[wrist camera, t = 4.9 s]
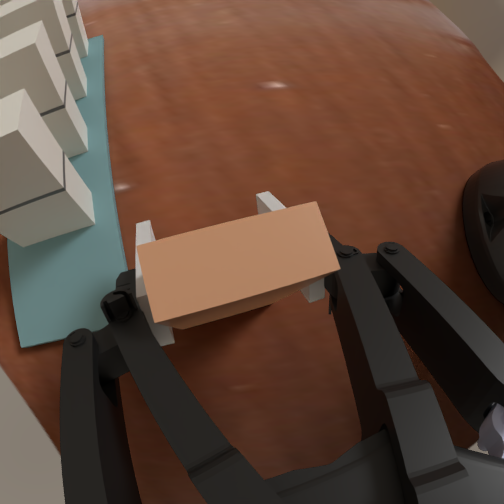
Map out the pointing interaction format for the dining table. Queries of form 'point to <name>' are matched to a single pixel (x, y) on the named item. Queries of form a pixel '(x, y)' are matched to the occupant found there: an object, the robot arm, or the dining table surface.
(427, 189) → the dining table surface
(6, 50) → the domino
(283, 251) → the terracotta domino
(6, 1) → the domino
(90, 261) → the domino board
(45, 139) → the domino
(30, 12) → the domino
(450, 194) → the dining table surface
